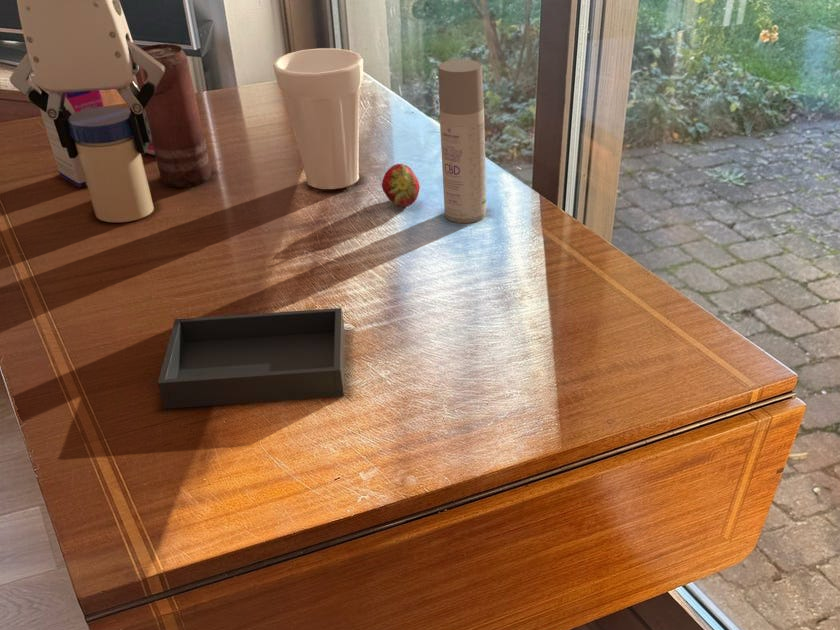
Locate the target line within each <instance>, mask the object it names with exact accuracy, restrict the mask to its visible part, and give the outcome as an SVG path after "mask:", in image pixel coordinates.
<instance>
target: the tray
mask: <svg viewBox="0 0 840 630" xmlns="http://www.w3.org/2000/svg"><path fill="white" fill-rule="evenodd" d="M343 315H344V314H343V308H342V307H334V308H333V307H332V308H321V309H303V310H291V311H276V312H261V313H259V312H258V313H246V314H230V315H217V316H202V317H187V318H175V319H174V321H173V324H172V328H171V331H170V335H169V339H168V343H167V347H166V351H165V355H164V358H163V361H162V364H161V370H160V373H159V377H158V381H157V386H158V389H159V393H160V396H161V401H162V403H163V406H164V407H163V408H164V410H170V409H172V410H173V409H184V408H185V409H187V408H198V407H199V408H200V407H211V406H213V407H214V406H227V405H239V404H240V405H241V404H256V403H269V402H282V401H297V400H298V401H299V400H309V399H310V400H311V399H324V398H338V397H344V396H345V373H346V372H345V367H346V366H345V364H346V363H345V361H346V360H345V359H346V331H345V322H344V316H343Z"/></svg>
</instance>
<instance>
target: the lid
mask: <svg viewBox="0 0 840 630" xmlns="http://www.w3.org/2000/svg"><path fill="white" fill-rule="evenodd" d="M130 113H131V111H130V108H129V109H128V108H126V107H122V106H108V105H107V106H104V107H95V108H89V109H85V110H81V111H78V112H76V113H74V114H72V115H70V116H69V117H68V119H67V122H68V125H69V126H68V128H69V131H70V135H71V138H73V139H74V140H75V141H78V142H82V143H90V144H98V143H109V142H114V141H119V140H122V139H125V138H128V137H130V136H132V135H133V132H132V128H131V124H130V121H129V115H130Z"/></svg>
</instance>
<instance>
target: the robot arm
mask: <svg viewBox="0 0 840 630" xmlns="http://www.w3.org/2000/svg"><path fill="white" fill-rule="evenodd" d="M16 4H17V11H18V14H19V20H20V21H19V22H20V25H21V31H22V34H23V38H24V43H25V48H26V53H25V54H24V56H23V58H22V59H21V60H20V62H19V63H18V65H17V66H16V68H15V69H14V70H13V72H12V74H11V75H10V77H9V82H10V84H11V85H12V86H13V87H14V88H16V89H17V90H18V91H19V92H20V93H21V94H23V95H24V96H25V97H27V98H28V100H29V101H30V102H31V103H32V104H34V105H35V106H36V107H37V108H39V110H40V109H42V110H43V111H44V112H46V113H47V116H48V117H49V118H50V119H53V121H54V124H55V127H56V130H57V133H58V137H59V140H60V143H61V146H62V147H63V148H67V152H68V155H69V157H70V158H76V157H77V155H78V153H77V149H76V146H75V140H74V139H73V138H71V135H70V131H69V128H68V126H69V125H68V122H67V119H68V117H69V116H70V115H72V114H71V112H69V110H66V107H65V106H64V103H65V97H66V92H78V91H95V90H100V91H107V90H116V91H117V93H118V94H119V96H120V97H121V98H122V100H123V101H124V102H125V103H126V105H127V106H128V108H129V110H130V111H131V113H130V115H129V121H130V124H131V128H132V132H133V136H134V139H135V143H136V147H137V151H138V153H140V154H141V155H144V154H147V153H146V151H147V149H148V146H149V143H151V141H152V135H151V131H150V127H149V123H148V119H147V115H146V111H145V107H146V105H147V104H148V102H149V101H150V99H151V97H152V96H153V94H154V92H155V90H156V88H157V87H158V85H159V83H160V81H161V79H162V77H163V75H164V73H165V67H164V66H163V65H162V64H161V63H160V62H158V61H157V60H155V59H154V58H153V57H151V56H150V55H149V54H147V53H146V52H145V51H143V50H142V49H140V48H141V47H139V46H138V45H137V44H135V43H134V41H133V38H132V35H131V31H130V28H129V24H128V22H127V19H126V16H125V12H124V10H123V7H122V5H121V1H120V0H16ZM139 66H140V67H141V68H142V69H144V70H145V71H146V72H147V74H148V77H147V80H146V81H145V83H144V85H143V86H142V88H141V89H139V88H138V87H137V85H136V84H135V82H134V81H133V76H134V75H135V74H136V73H137V72H138V70H139ZM32 72H33V74H34V75H35V78H36V80H37V82H38V84H39V86H40V87H41V88H43V89H45V90H47V91H49V94H48V93H46V92H45V91H44V90H43V89H41V88H40V87H37V86H36V85H35V84H34V83H33V82H32V81H31V78H30V74H32Z"/></svg>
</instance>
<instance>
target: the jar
mask: <svg viewBox="0 0 840 630" xmlns="http://www.w3.org/2000/svg"><path fill="white" fill-rule="evenodd" d="M75 146H76V149H77V153H78V156H79V160H80V163H81V167H82V170H83V174H84V177H85V181H86V184H87V185H86V187H87V190H88V194H89V198H90V201H91V206H92V208H93V212H94V215H95V218H97V220H99V221H102V222H106V223H128V222H129V223H130V222H133V221H139V220H141V219H143V218H146V217H147V216H149V215H151V214H152V213H153V212H154V209H155V207H154V202H153V198H152V193H151V189H150V185H149V181H148V177H147V173H146V168H145V165H144V164H145V163H144V161H143V157H142V154H140V153H138V151H137V147H136V143H135V139H134V136H133V135H132V136H130V137H128V138H125V139H122V140H119V141H114V142H109V143H98V144H90V143H82V142H78V141H75Z"/></svg>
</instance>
